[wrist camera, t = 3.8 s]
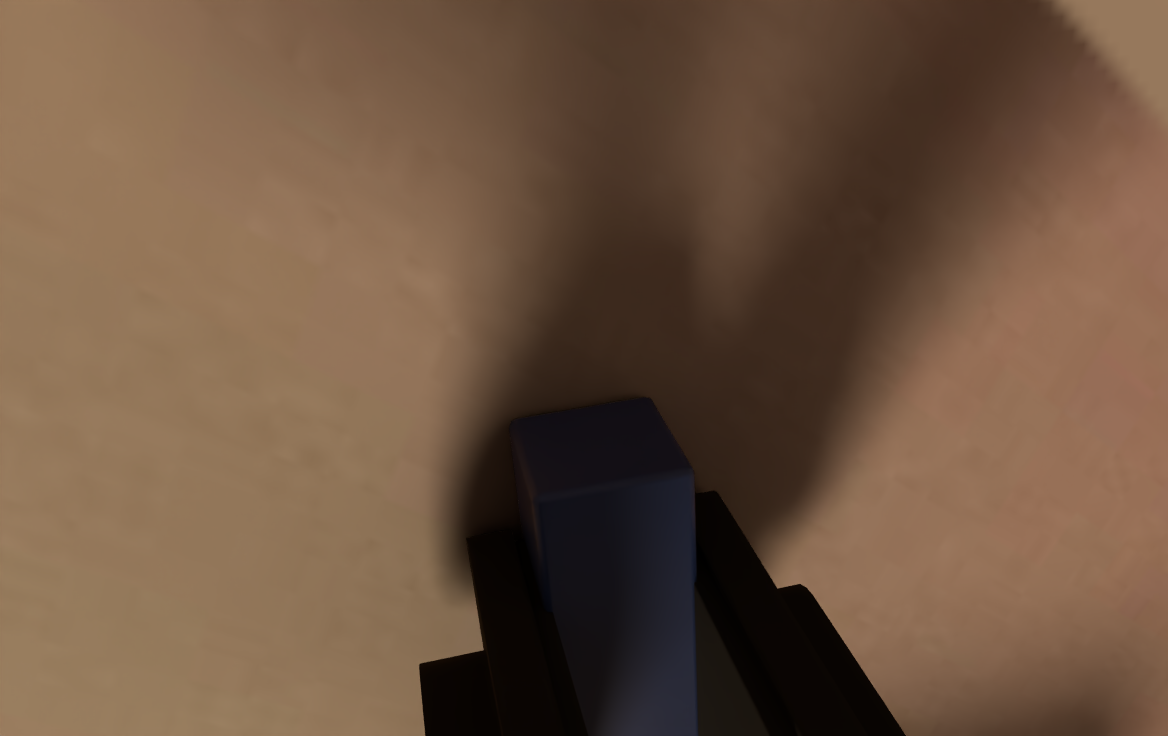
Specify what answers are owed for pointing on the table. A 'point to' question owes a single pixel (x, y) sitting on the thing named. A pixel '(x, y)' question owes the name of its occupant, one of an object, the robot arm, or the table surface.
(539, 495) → the navy spoon
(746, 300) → the table surface
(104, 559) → the table surface
